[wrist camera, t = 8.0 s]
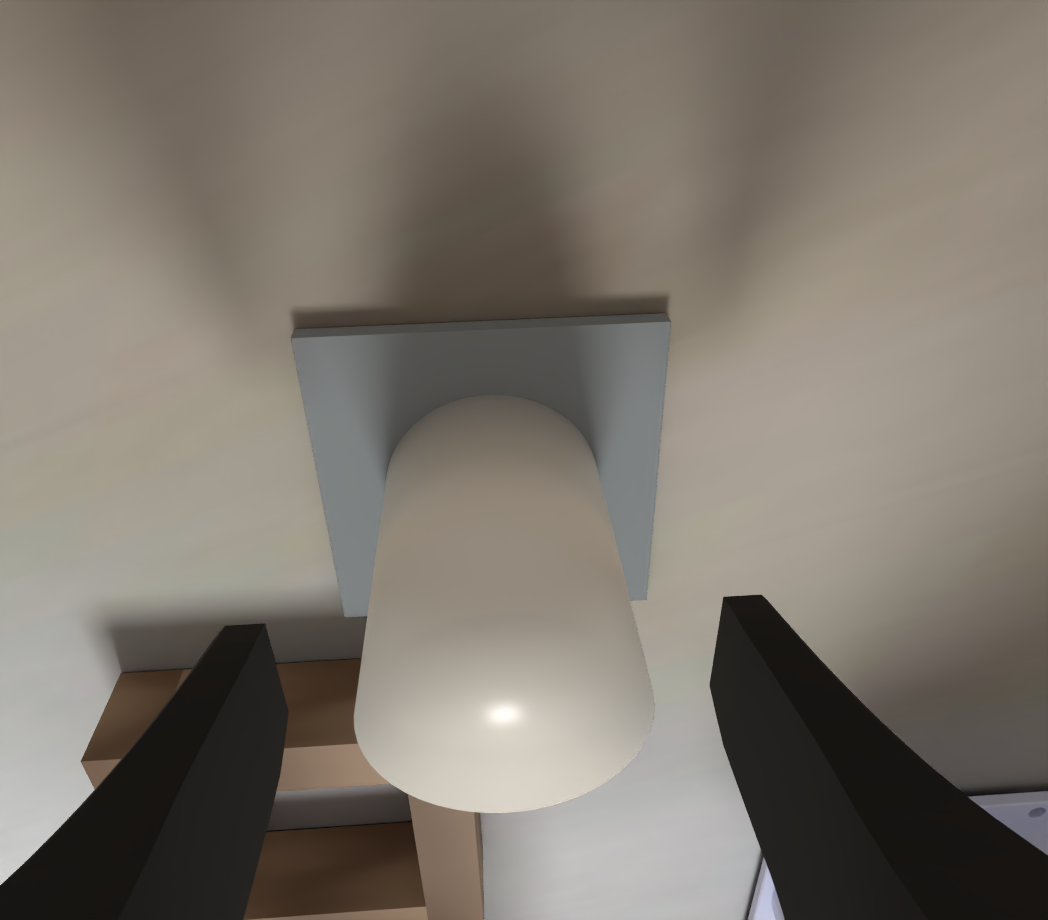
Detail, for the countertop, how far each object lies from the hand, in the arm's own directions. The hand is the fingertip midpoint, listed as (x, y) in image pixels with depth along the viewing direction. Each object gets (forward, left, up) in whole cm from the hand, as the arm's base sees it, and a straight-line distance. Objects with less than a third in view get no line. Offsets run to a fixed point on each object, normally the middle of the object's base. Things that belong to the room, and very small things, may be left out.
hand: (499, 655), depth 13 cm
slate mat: (0, 0, -5) cm, 5 cm away
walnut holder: (+5, +9, -5) cm, 12 cm away
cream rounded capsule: (0, 0, -5) cm, 5 cm away
